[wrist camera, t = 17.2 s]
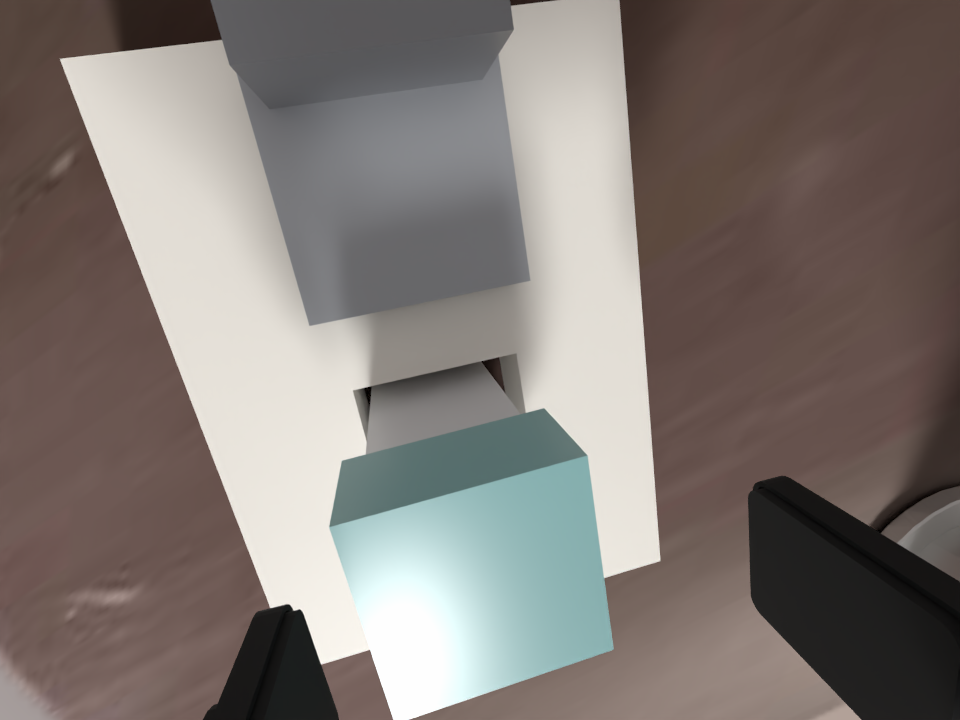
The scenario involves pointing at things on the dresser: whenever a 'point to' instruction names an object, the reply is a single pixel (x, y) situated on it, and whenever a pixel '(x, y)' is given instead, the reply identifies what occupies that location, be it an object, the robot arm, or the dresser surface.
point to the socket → (391, 333)
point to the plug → (468, 541)
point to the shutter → (382, 145)
